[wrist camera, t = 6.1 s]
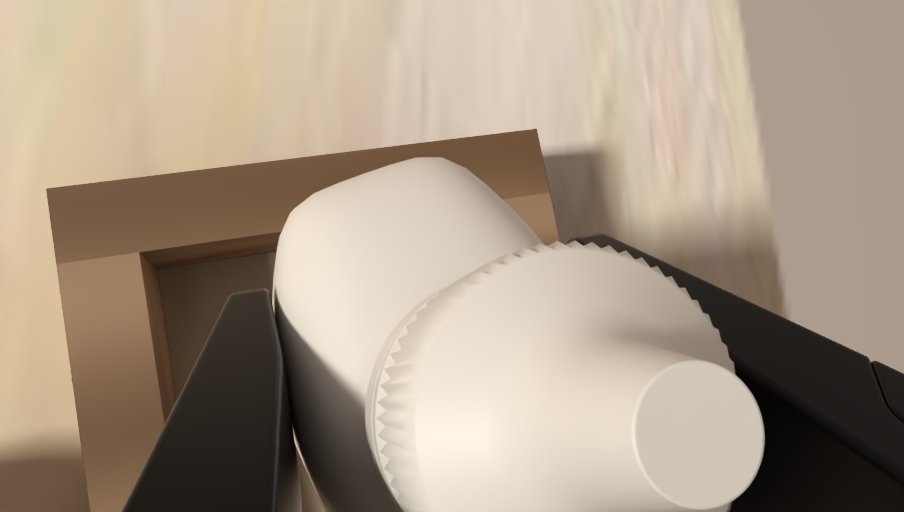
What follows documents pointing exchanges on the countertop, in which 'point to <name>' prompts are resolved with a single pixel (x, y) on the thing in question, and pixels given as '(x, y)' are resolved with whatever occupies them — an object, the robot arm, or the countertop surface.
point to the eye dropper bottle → (496, 361)
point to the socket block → (201, 240)
